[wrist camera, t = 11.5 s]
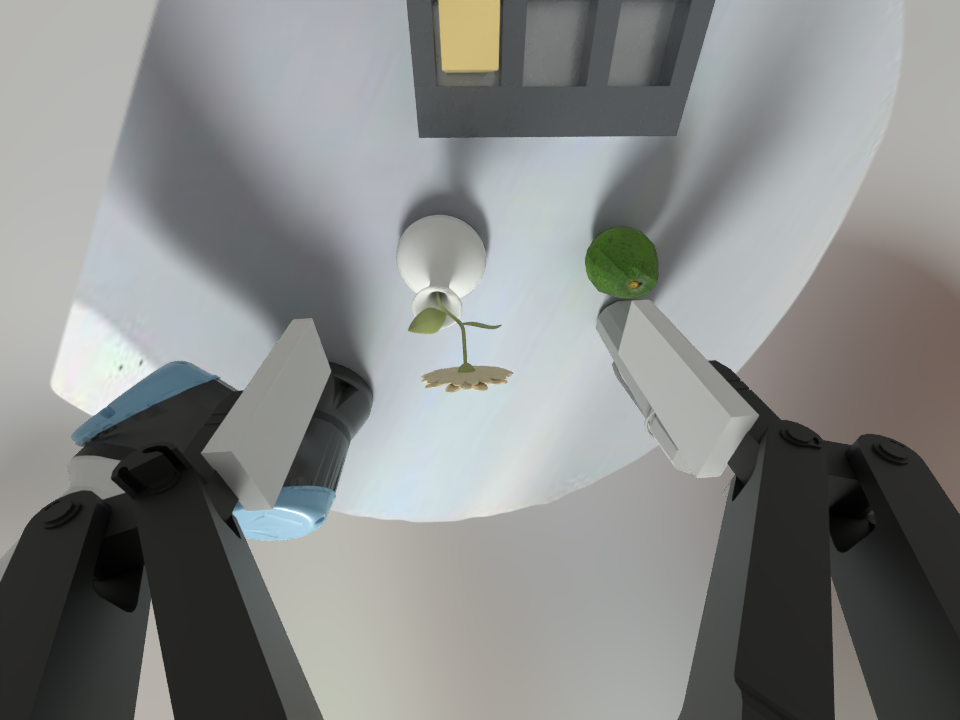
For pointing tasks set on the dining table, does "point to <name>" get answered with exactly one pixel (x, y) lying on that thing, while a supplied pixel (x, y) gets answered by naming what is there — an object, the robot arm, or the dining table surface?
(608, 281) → the avocado
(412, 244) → the flower in vase
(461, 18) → the yellow tall block
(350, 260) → the dining table surface
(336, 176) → the dining table surface
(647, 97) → the jack panel
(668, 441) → the water bottle
